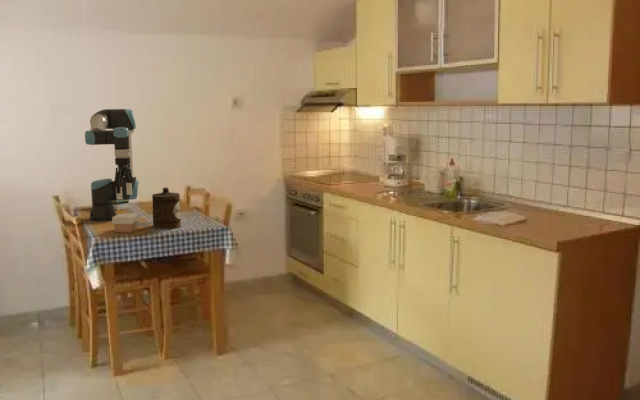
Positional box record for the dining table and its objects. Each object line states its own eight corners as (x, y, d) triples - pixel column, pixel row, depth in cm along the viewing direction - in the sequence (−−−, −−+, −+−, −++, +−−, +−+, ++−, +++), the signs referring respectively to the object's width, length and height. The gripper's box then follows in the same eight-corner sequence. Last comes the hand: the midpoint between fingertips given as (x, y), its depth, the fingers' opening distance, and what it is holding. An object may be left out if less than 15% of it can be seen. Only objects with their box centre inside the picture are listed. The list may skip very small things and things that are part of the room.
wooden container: (182, 228, 327) (180, 188, 324) (154, 230, 322) (152, 190, 319) (178, 223, 341) (177, 185, 337) (152, 225, 336) (150, 186, 332)
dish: (114, 232, 316) (114, 223, 315) (121, 229, 325) (121, 220, 324) (131, 233, 315) (131, 223, 314) (137, 229, 324) (137, 220, 323)
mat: (124, 227, 330) (124, 226, 330) (132, 222, 342) (132, 222, 342) (145, 227, 329) (145, 226, 329) (153, 223, 341) (153, 222, 341)
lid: (112, 223, 314) (112, 217, 314) (120, 219, 325) (120, 213, 324) (132, 224, 314) (131, 217, 313) (139, 220, 324) (138, 213, 323)
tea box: (129, 208, 389) (128, 185, 387) (117, 210, 381) (115, 187, 379) (114, 206, 397) (113, 184, 395) (101, 208, 389) (100, 185, 386)
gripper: (120, 160, 301) (122, 201, 305) (138, 154, 325) (140, 193, 329) (105, 159, 301) (108, 201, 305) (124, 154, 326) (126, 192, 330)
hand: (124, 197), depth 317 cm, fingers open, 13 cm apart
